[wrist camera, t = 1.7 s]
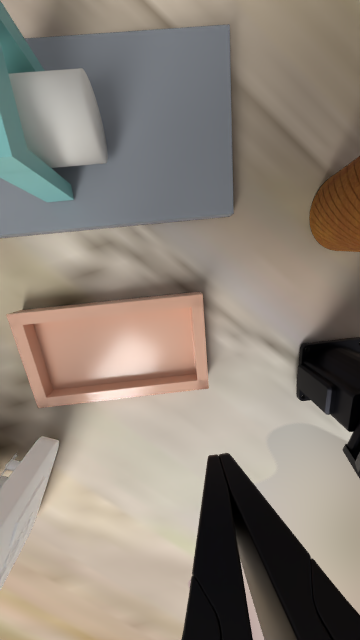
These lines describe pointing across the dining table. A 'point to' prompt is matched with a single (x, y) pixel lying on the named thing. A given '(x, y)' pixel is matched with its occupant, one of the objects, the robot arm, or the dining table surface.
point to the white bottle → (60, 117)
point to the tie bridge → (5, 127)
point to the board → (141, 132)
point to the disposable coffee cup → (338, 210)
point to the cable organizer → (22, 499)
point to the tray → (113, 348)
